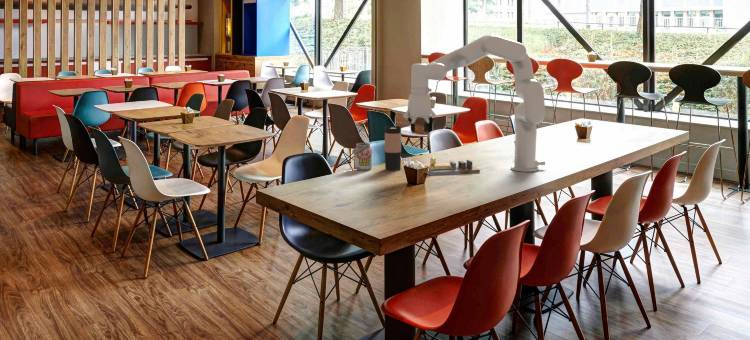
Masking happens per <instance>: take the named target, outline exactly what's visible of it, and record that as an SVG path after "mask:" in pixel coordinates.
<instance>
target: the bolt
mask: <svg viewBox="0 0 750 340" xmlns="http://www.w3.org/2000/svg"><path fill="white" fill-rule="evenodd" d="M436 163H437V161H436V157H430V164H429V165H427V166H428V167H429V170H438V169H453V165H452V164H450V163H449V164H436ZM427 166H426V167H427Z"/></svg>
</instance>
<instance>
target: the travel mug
mask: <svg viewBox="0 0 750 340" xmlns="http://www.w3.org/2000/svg"><path fill="white" fill-rule="evenodd" d="M401 160H402V127H401V126H396V125H394V126H393V125H392V126H385V127H384V164H385V165H384V167H385V171H388V172H397V170H398V171H400V170H401V168H402V167H401V164H402V163H401V162H402V161H401Z"/></svg>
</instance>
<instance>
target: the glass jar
mask: <svg viewBox="0 0 750 340" xmlns="http://www.w3.org/2000/svg"><path fill="white" fill-rule="evenodd" d="M372 149H373V148H372V147H371V143H368V142H367V143H366V142H358V143H356V145H355V147H354V148H353V149H352V151H351V153H352V154H354V169H355V170H357V171H360V170H361V171H371V169H372V168H373V162H372V161H373V154H372V153H373V152H372V151H373V150H372Z"/></svg>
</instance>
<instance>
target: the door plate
mask: <svg viewBox="0 0 750 340" xmlns="http://www.w3.org/2000/svg"><path fill="white" fill-rule="evenodd" d="M449 164H452V165H453V169H438V170H429V171H428V174H427V175H428V176H442V175H443V176H444V175H460V174H459V170H457V169H456V167H457V163H456V162H455V161H453V160H450V161H449Z"/></svg>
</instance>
